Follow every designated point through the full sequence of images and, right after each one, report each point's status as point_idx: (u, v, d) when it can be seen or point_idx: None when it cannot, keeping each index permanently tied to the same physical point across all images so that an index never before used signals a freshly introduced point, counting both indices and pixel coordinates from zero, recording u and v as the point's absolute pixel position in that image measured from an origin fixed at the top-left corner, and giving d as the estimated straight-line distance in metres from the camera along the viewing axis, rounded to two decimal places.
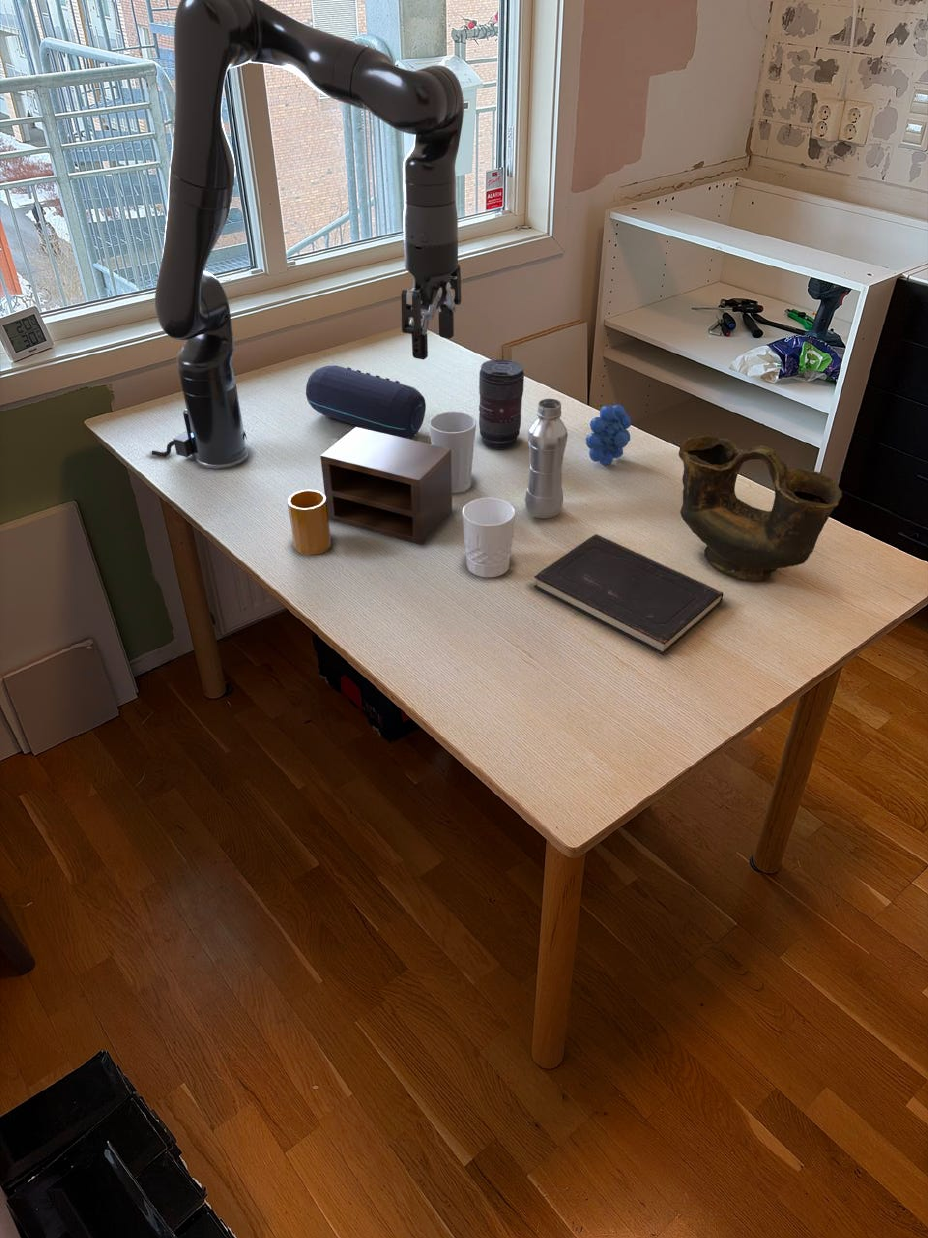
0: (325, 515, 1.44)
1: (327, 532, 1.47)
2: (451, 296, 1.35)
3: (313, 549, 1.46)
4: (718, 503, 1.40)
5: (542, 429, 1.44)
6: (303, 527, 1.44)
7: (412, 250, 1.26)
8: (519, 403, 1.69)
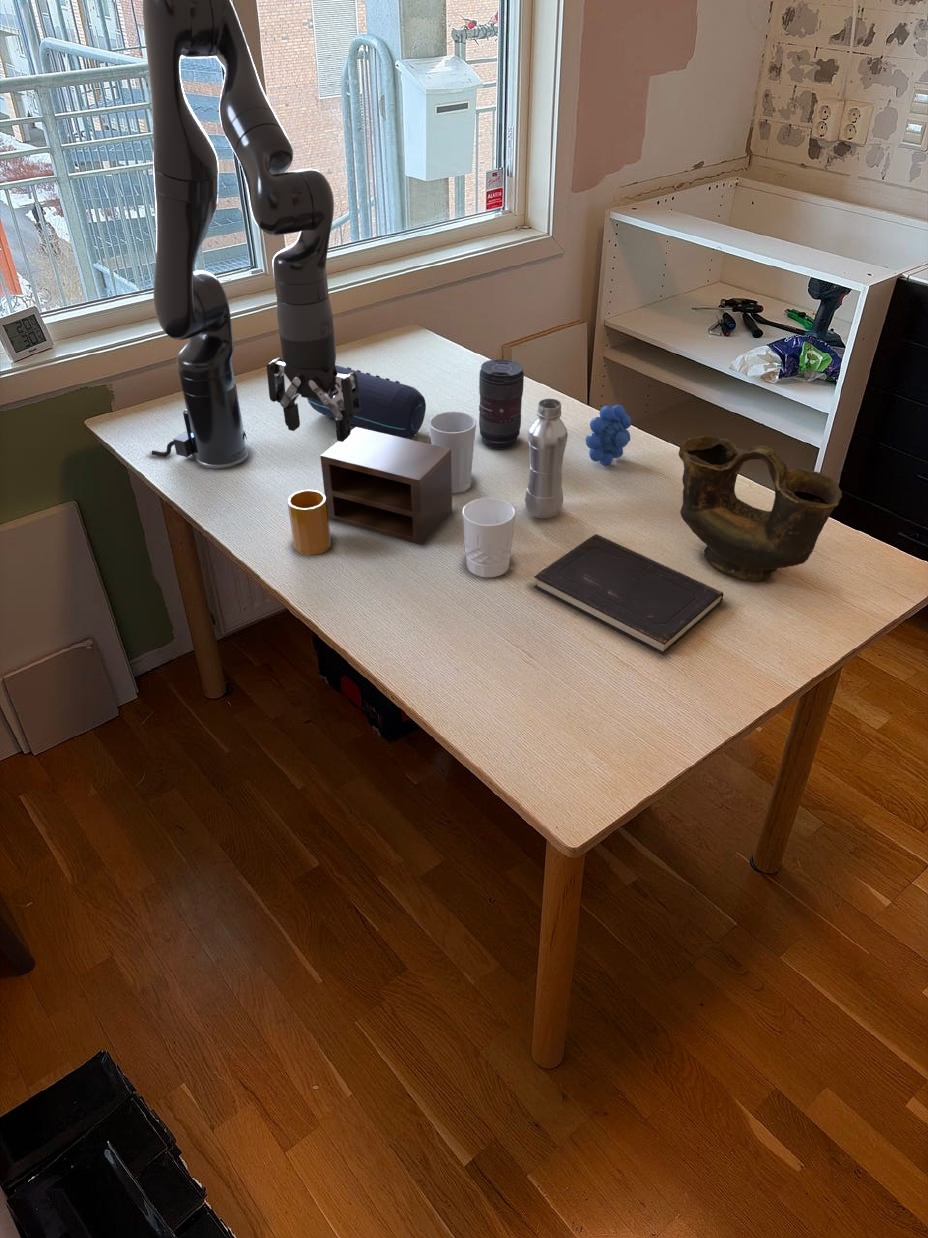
0: (325, 515, 1.44)
1: (327, 532, 1.47)
2: (325, 399, 1.32)
3: (313, 549, 1.46)
4: (718, 503, 1.40)
5: (542, 429, 1.44)
6: (303, 527, 1.44)
7: None
8: (519, 403, 1.69)
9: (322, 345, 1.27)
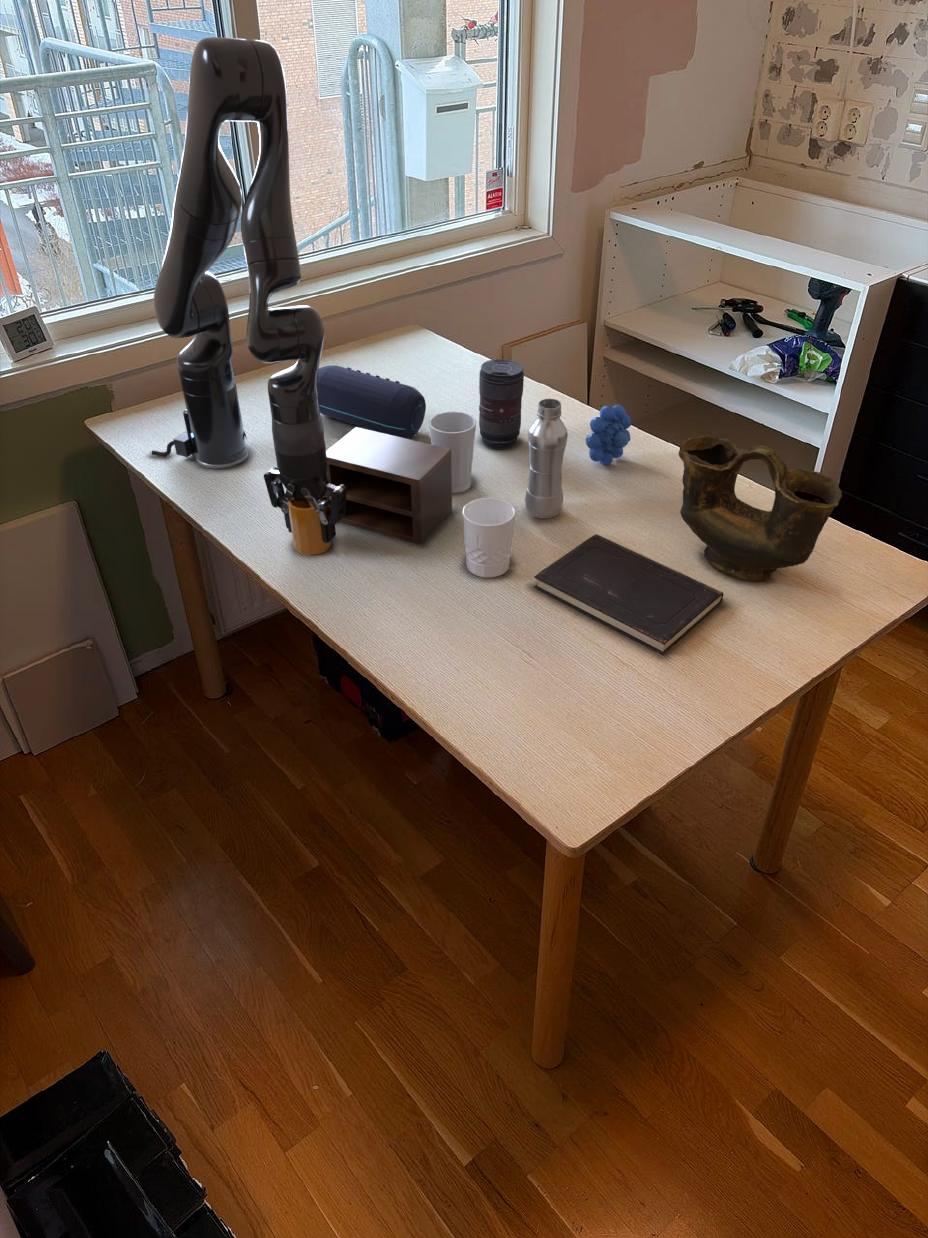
0: None
1: None
2: (314, 506, 1.42)
3: (313, 549, 1.46)
4: (718, 503, 1.40)
5: (542, 429, 1.44)
6: (303, 527, 1.44)
7: None
8: (519, 403, 1.69)
9: (314, 459, 1.36)
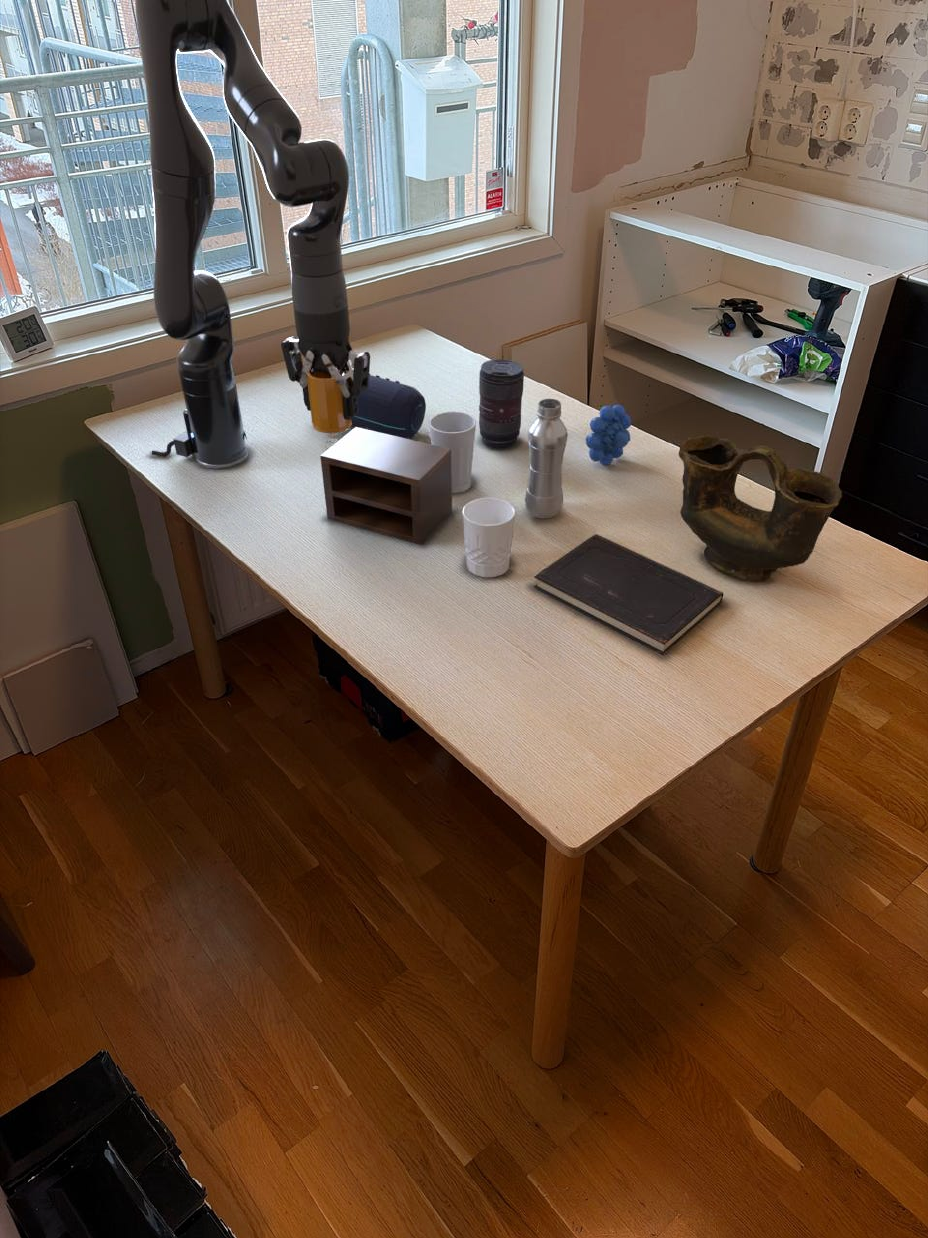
0: None
1: None
2: (335, 375, 1.32)
3: (333, 426, 1.36)
4: (718, 503, 1.40)
5: (542, 429, 1.44)
6: (322, 400, 1.34)
7: None
8: (519, 403, 1.69)
9: (336, 319, 1.26)
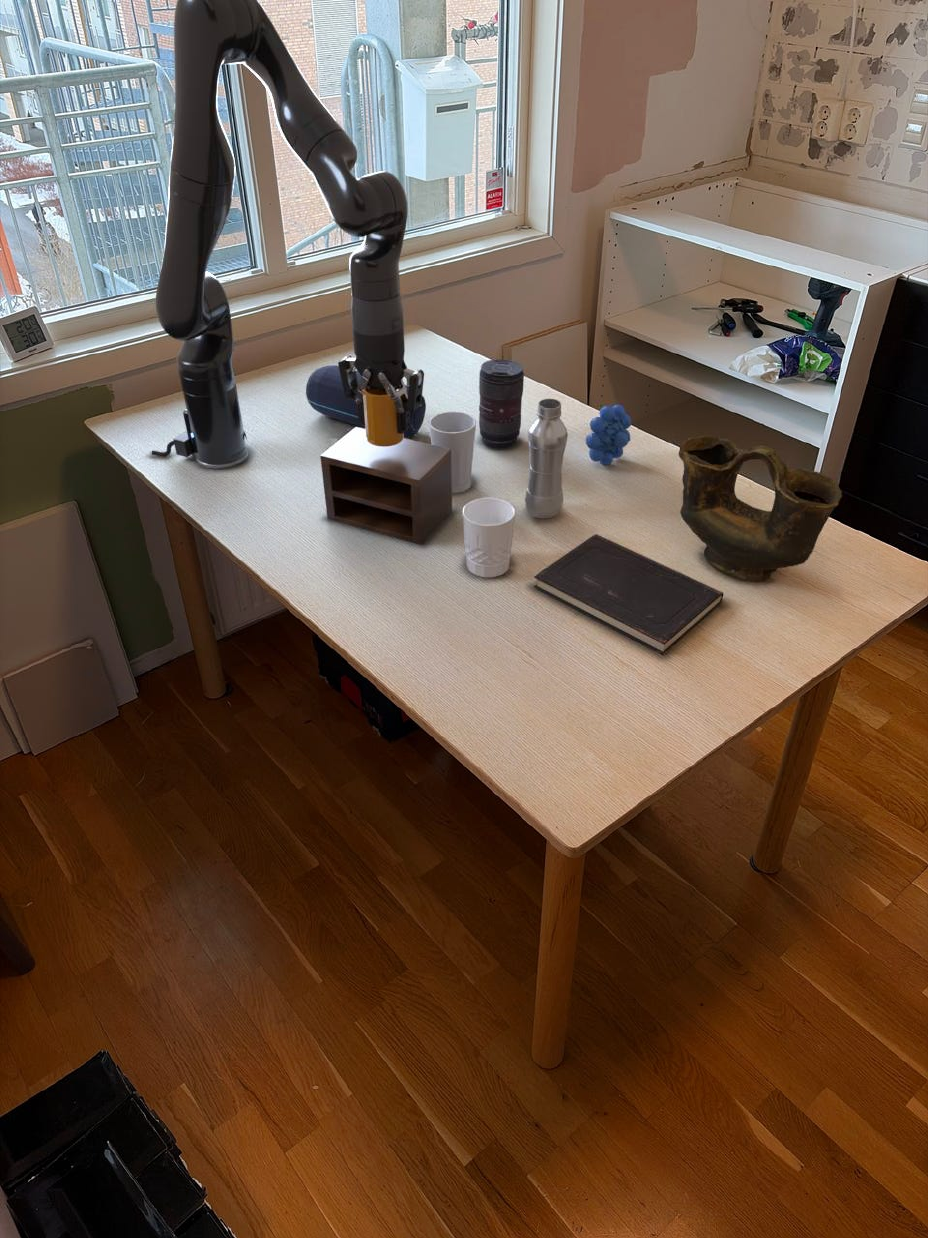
0: None
1: None
2: (391, 392, 1.39)
3: (387, 440, 1.44)
4: (718, 503, 1.40)
5: (542, 429, 1.44)
6: (378, 416, 1.41)
7: None
8: (519, 403, 1.69)
9: (393, 340, 1.34)
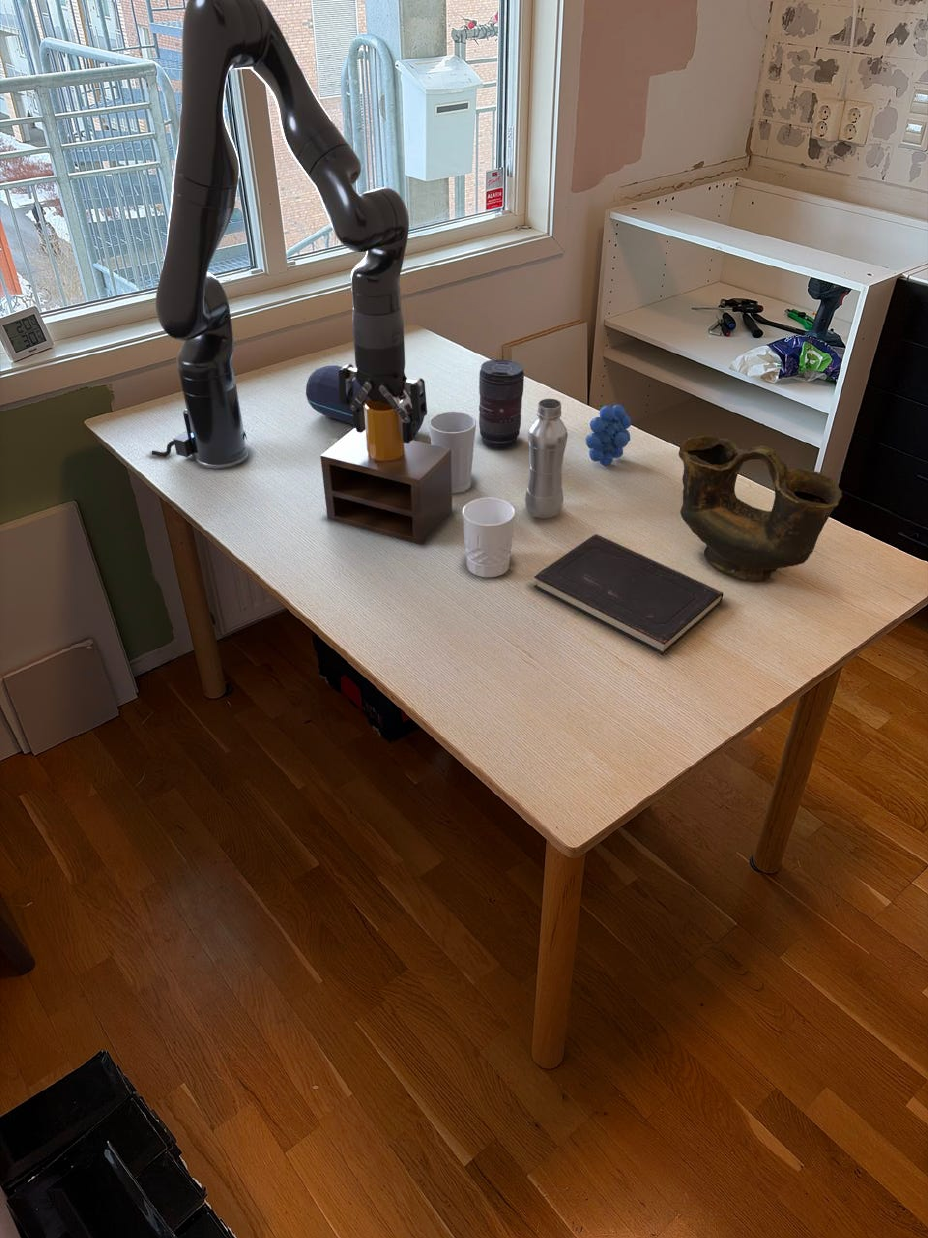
0: (401, 419, 1.44)
1: (402, 438, 1.46)
2: (394, 403, 1.40)
3: (388, 455, 1.45)
4: (718, 503, 1.40)
5: (542, 429, 1.44)
6: (379, 431, 1.43)
7: None
8: (519, 403, 1.69)
9: (394, 353, 1.35)
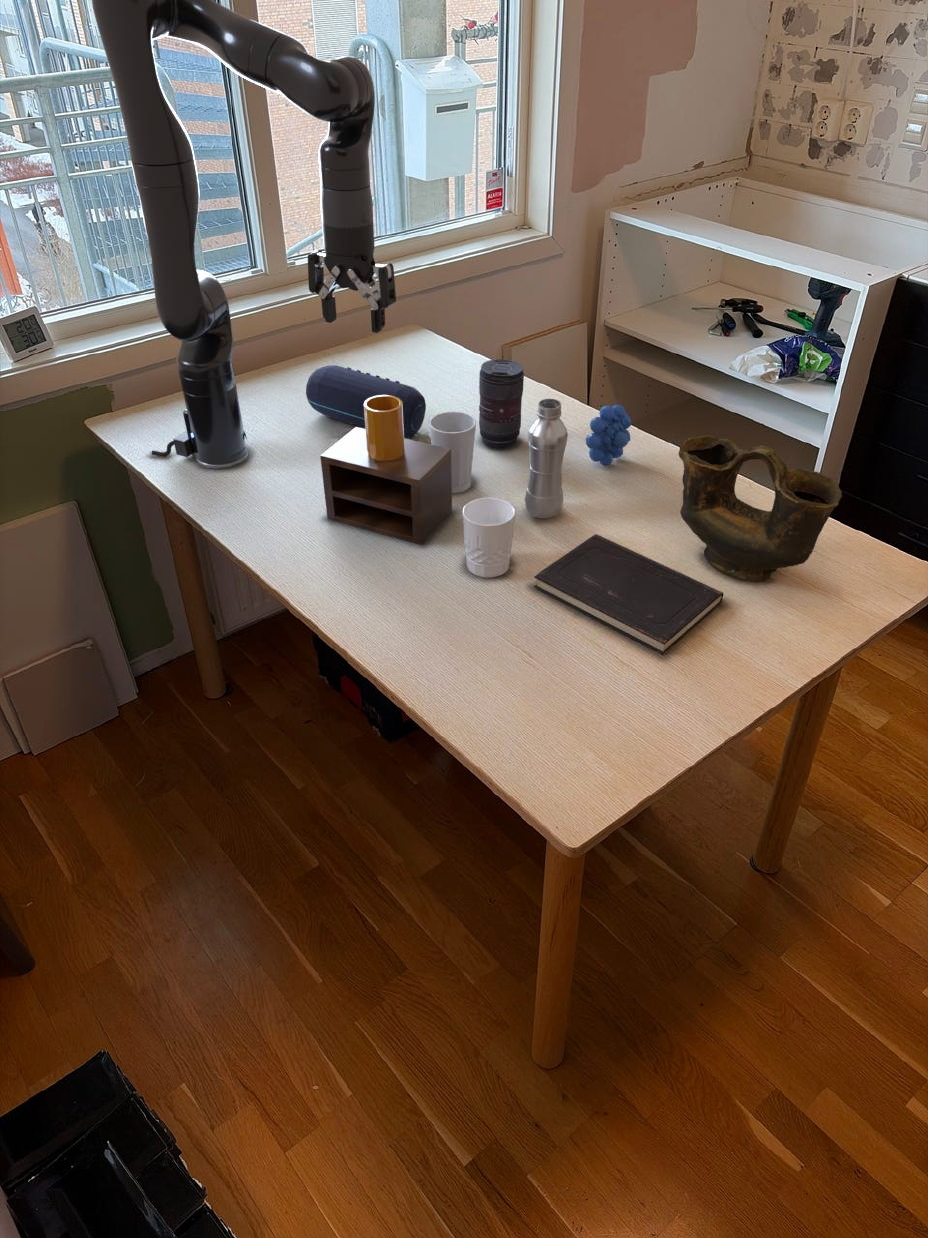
0: (401, 419, 1.44)
1: (402, 438, 1.46)
2: (362, 289, 1.38)
3: (388, 455, 1.45)
4: (718, 503, 1.40)
5: (542, 429, 1.44)
6: (379, 431, 1.43)
7: None
8: (519, 403, 1.69)
9: (362, 233, 1.33)
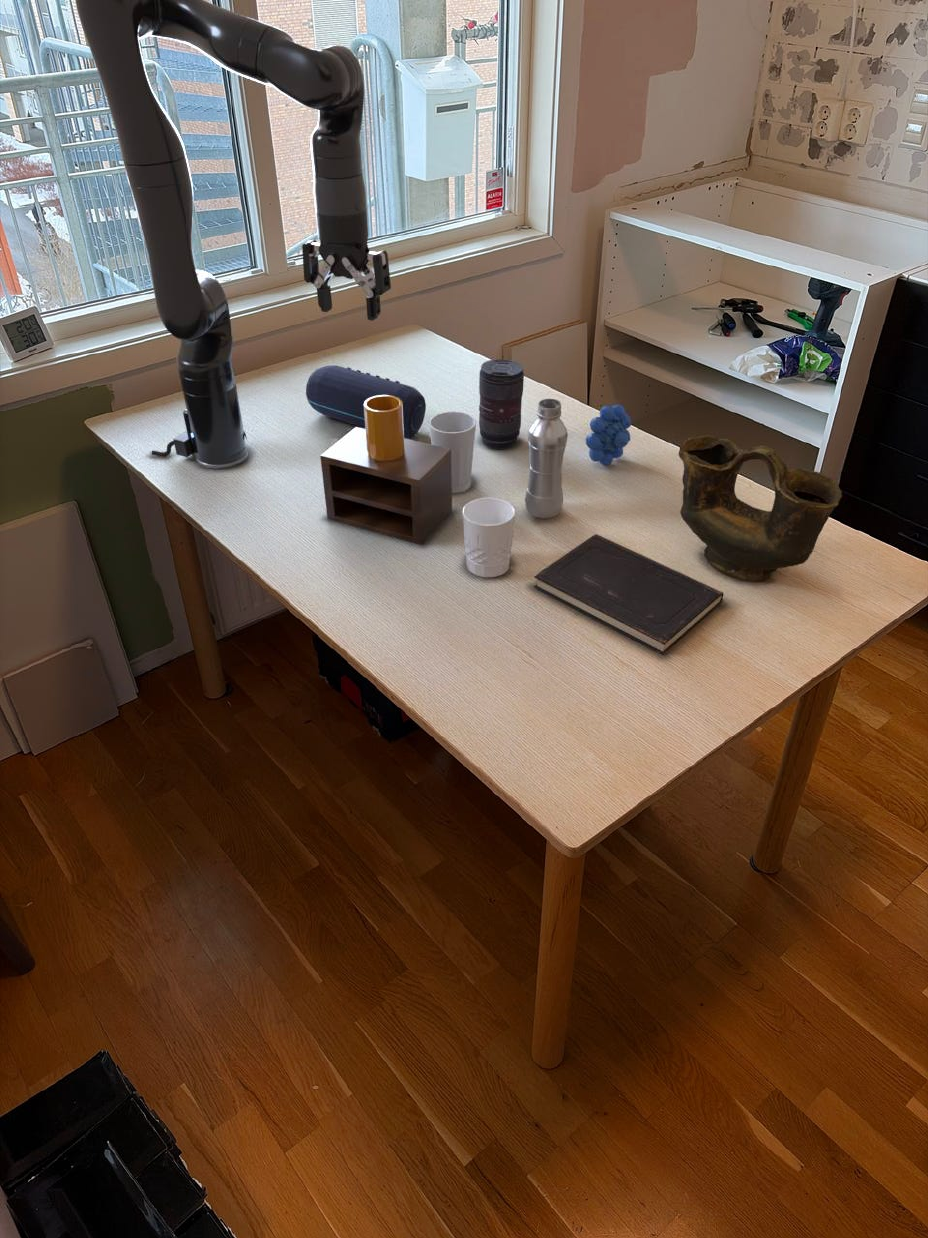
0: (401, 419, 1.44)
1: (402, 438, 1.46)
2: (357, 276, 1.39)
3: (388, 455, 1.45)
4: (718, 503, 1.40)
5: (542, 429, 1.44)
6: (379, 431, 1.43)
7: None
8: (519, 403, 1.69)
9: (356, 221, 1.34)
